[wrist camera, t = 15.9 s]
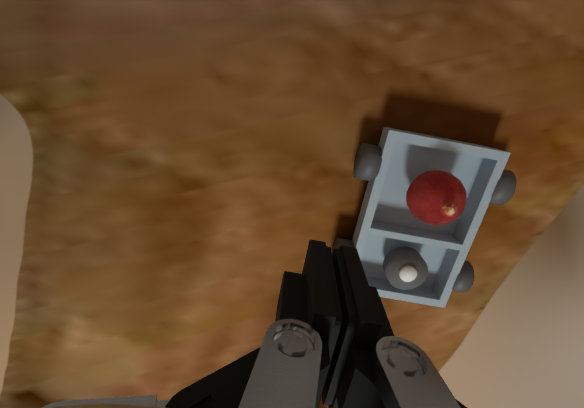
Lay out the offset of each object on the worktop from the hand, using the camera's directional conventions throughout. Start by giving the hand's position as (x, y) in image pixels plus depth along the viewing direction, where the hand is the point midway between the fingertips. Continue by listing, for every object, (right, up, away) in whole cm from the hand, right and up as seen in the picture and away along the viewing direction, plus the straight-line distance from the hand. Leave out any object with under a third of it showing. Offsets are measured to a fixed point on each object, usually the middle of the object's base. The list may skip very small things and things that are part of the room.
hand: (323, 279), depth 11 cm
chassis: (+14, +1, +28) cm, 31 cm away
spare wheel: (+13, -5, +27) cm, 30 cm away
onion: (+14, +5, +26) cm, 30 cm away
